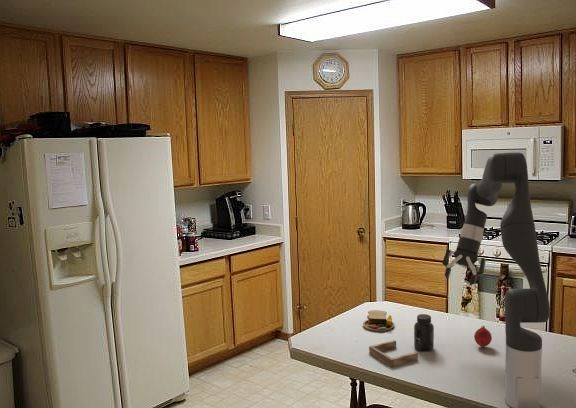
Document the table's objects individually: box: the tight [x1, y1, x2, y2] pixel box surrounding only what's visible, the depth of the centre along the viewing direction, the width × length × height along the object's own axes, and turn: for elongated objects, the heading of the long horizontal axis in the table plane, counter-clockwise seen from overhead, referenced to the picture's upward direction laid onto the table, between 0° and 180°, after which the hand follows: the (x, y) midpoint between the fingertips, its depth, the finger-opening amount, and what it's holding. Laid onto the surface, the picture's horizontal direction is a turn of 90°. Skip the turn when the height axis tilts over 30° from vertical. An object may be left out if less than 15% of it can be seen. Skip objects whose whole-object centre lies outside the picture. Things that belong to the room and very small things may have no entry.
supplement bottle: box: [413, 313, 435, 353], centre depth 188 cm, size 7×7×12 cm
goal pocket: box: [368, 339, 419, 368], centre depth 183 cm, size 11×13×2 cm
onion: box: [473, 324, 493, 348], centre depth 187 cm, size 6×6×8 cm
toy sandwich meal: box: [362, 309, 395, 332], centre depth 211 cm, size 12×14×5 cm
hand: (458, 281), depth 189 cm, fingers open, 8 cm apart
